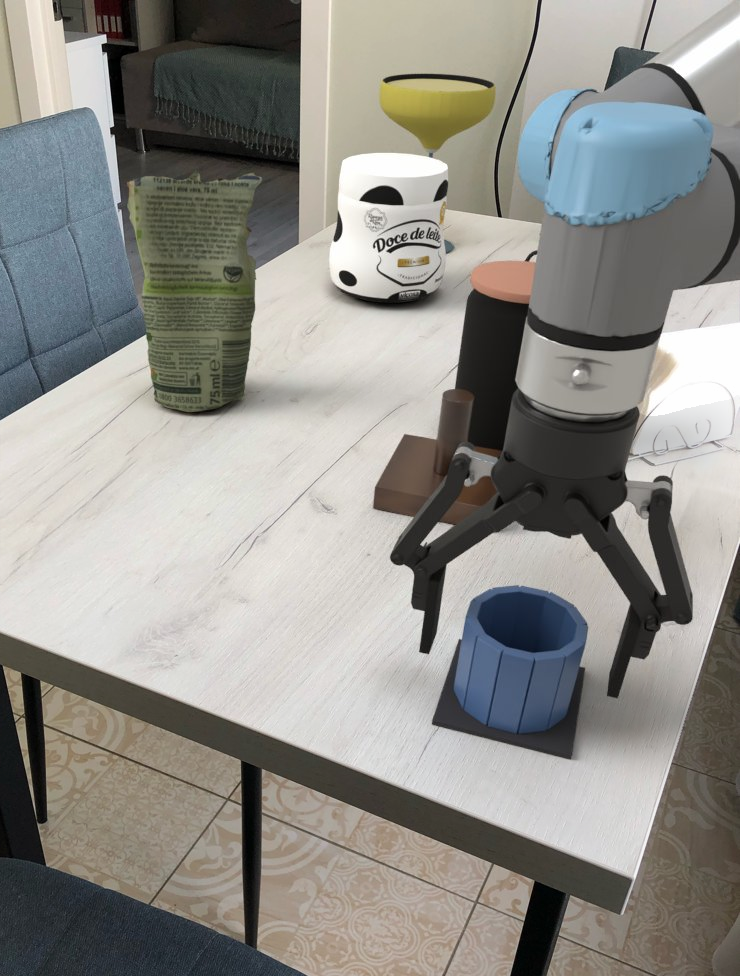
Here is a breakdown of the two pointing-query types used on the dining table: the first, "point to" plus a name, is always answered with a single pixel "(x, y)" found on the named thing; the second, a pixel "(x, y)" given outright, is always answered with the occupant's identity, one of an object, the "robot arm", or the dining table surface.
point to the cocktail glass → (436, 106)
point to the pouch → (196, 286)
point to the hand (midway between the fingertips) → (518, 663)
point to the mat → (549, 741)
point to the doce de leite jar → (390, 227)
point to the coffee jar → (493, 345)
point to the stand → (433, 465)
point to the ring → (519, 658)
